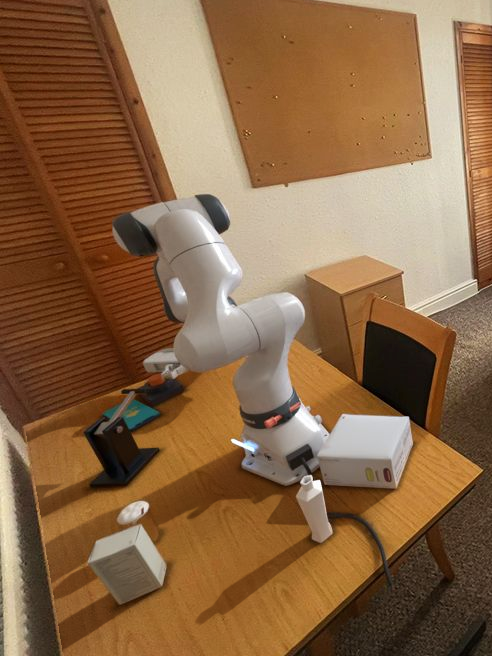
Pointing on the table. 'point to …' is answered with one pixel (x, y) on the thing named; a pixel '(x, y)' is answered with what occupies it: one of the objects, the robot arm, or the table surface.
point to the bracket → (117, 454)
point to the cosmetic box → (128, 564)
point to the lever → (120, 409)
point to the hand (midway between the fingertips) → (167, 376)
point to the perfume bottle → (314, 508)
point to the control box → (161, 391)
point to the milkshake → (139, 518)
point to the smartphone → (134, 414)
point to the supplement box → (366, 451)
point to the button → (156, 380)
